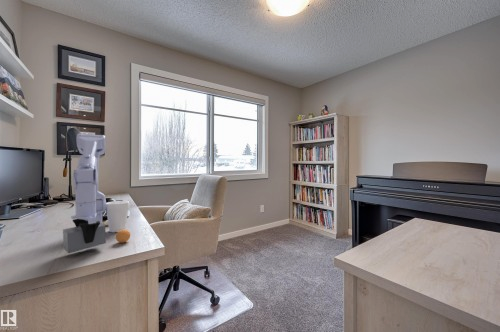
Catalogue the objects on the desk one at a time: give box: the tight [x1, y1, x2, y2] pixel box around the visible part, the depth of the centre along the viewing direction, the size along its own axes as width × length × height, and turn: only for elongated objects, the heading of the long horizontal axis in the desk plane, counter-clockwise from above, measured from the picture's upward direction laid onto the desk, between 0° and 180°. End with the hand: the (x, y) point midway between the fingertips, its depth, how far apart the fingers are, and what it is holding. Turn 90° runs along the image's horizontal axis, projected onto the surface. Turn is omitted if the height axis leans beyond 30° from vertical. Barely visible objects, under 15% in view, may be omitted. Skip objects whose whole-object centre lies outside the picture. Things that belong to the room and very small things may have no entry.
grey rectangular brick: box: [62, 222, 107, 254], centre depth 74 cm, size 6×11×7 cm, turn 142°
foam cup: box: [106, 200, 130, 233], centre depth 99 cm, size 10×9×13 cm
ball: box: [115, 228, 131, 243], centre depth 84 cm, size 5×5×5 cm
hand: (86, 240), depth 75 cm, fingers closed on grey rectangular brick, 6 cm apart
